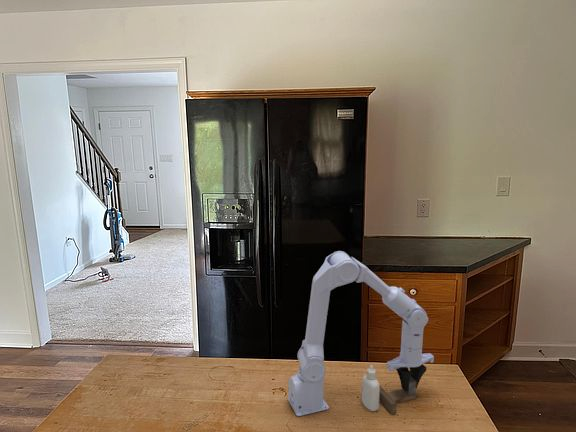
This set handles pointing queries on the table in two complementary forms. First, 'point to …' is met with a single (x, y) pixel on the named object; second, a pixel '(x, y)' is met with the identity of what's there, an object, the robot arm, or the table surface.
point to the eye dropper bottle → (370, 390)
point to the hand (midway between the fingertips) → (409, 388)
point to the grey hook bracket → (397, 396)
